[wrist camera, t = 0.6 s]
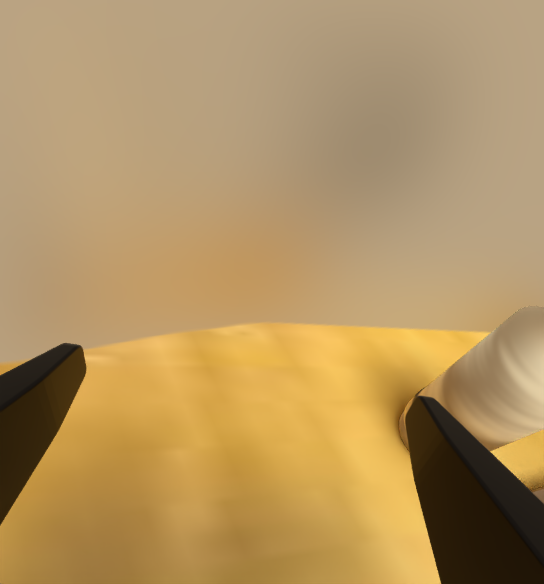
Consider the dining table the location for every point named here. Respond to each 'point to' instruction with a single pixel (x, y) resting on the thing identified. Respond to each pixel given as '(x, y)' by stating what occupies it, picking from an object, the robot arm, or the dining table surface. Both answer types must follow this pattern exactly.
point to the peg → (496, 383)
